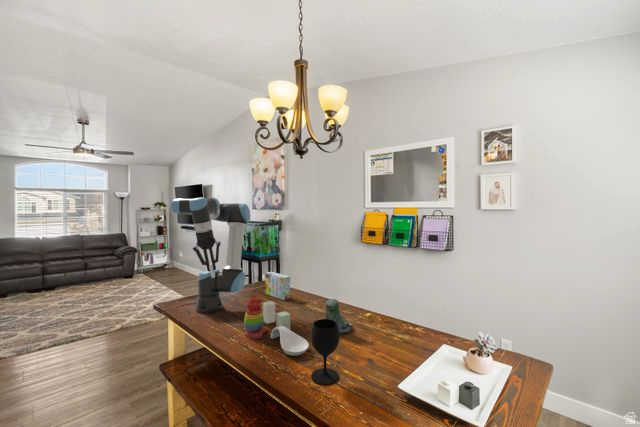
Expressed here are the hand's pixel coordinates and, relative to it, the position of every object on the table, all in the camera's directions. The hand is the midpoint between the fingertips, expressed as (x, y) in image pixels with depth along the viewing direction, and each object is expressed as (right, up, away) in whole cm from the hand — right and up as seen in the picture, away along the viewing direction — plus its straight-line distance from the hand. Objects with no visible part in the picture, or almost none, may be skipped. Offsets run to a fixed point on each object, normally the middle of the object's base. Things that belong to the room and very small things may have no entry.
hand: (213, 276), depth 145 cm
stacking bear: (+20, -28, 0) cm, 35 cm away
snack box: (+23, -26, +56) cm, 66 cm away
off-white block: (+25, -27, +15) cm, 40 cm away
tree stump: (+60, -28, +6) cm, 66 cm away
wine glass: (+54, -30, -35) cm, 71 cm away
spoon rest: (+38, -29, -13) cm, 49 cm away
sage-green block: (+34, -28, 0) cm, 44 cm away
